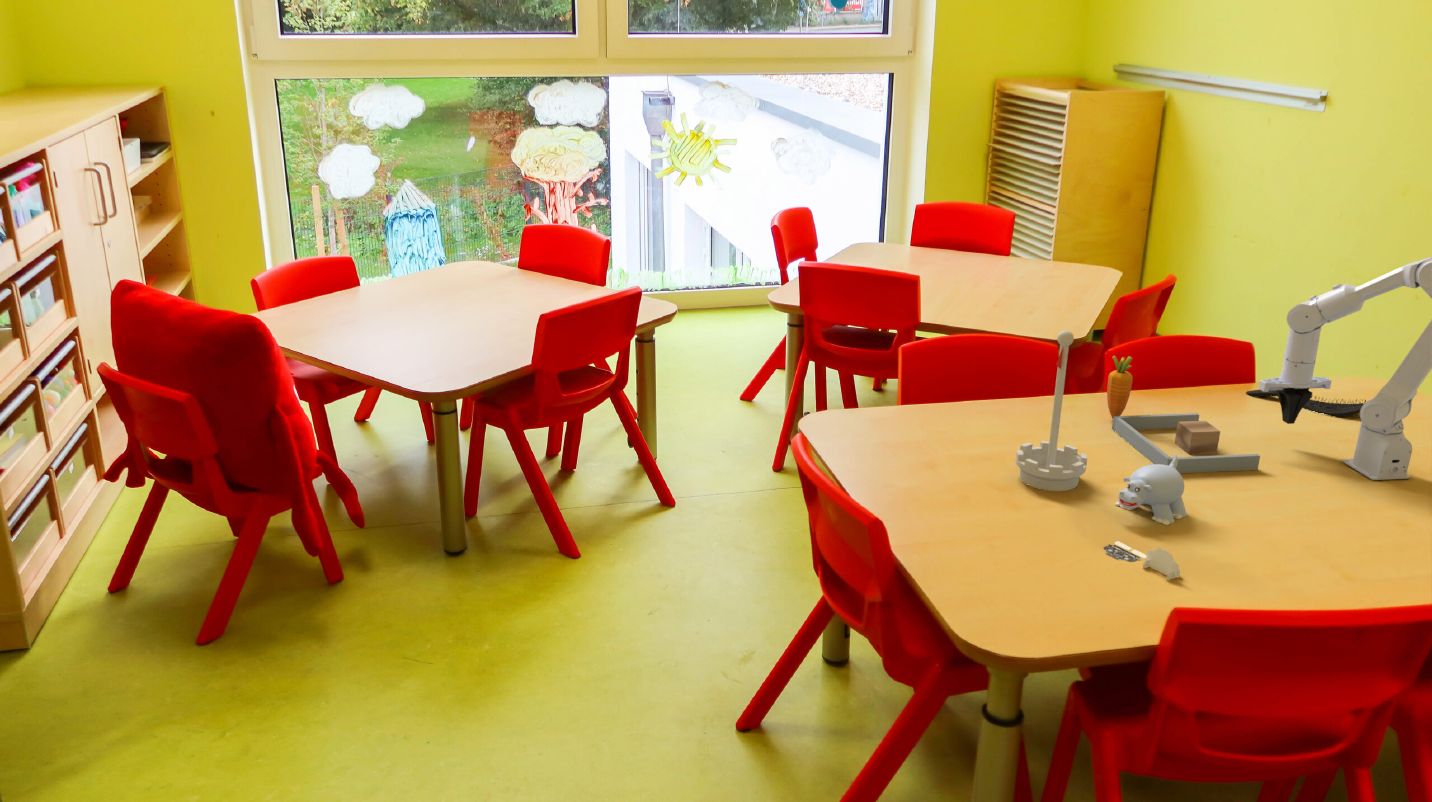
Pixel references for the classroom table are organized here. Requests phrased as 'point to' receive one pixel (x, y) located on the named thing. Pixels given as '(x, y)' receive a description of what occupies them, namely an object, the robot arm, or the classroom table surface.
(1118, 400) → the carrot
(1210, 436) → the walnut block
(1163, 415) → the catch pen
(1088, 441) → the classroom table surface
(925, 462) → the classroom table surface
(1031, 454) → the flag stand
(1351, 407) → the hairbrush
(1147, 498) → the hippopotamus toy
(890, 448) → the classroom table surface
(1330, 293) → the robot arm
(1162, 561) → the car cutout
